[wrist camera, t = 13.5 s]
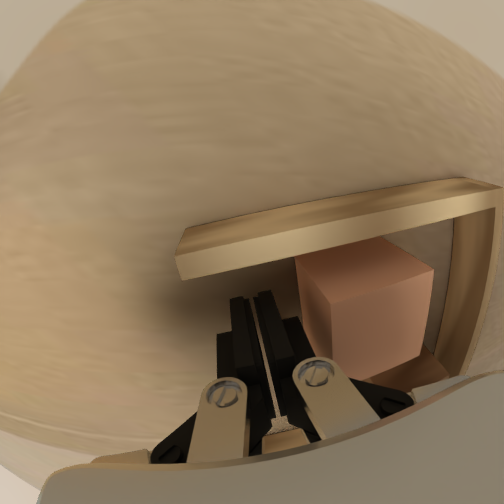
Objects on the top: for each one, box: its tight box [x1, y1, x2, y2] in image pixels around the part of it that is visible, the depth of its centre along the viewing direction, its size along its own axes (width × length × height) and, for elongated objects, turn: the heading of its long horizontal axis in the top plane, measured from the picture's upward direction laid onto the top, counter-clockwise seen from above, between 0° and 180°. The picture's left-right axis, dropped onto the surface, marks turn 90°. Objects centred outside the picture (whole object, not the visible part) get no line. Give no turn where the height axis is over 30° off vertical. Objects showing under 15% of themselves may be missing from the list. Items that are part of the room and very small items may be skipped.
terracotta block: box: [294, 236, 434, 381], centre depth 10 cm, size 4×4×4 cm
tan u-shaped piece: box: [174, 177, 504, 454], centre depth 12 cm, size 14×16×3 cm
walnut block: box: [361, 343, 450, 393], centre depth 13 cm, size 4×4×4 cm
